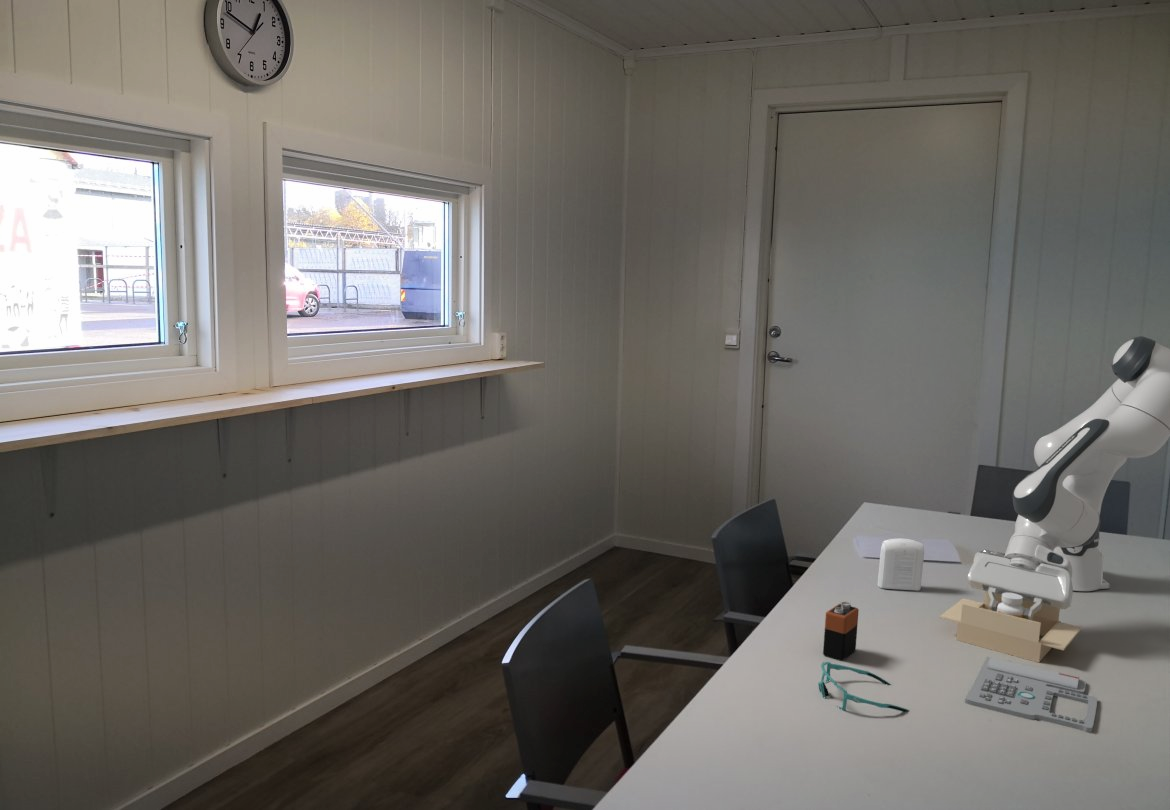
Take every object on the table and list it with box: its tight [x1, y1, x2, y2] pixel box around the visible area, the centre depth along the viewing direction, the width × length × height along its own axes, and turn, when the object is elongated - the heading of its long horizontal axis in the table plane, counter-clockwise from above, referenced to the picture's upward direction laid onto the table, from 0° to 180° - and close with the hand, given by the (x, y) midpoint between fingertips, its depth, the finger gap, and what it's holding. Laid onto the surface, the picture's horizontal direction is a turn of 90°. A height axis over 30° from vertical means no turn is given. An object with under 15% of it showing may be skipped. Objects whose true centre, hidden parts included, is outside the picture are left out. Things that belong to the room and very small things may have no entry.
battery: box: [822, 601, 860, 661], centre depth 182 cm, size 4×7×10 cm, turn 142°
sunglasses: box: [818, 661, 910, 713], centre depth 164 cm, size 14×15×5 cm
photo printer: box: [877, 537, 925, 592], centre depth 222 cm, size 10×4×12 cm, turn 86°
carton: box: [939, 591, 1083, 663], centre depth 191 cm, size 16×24×8 cm, turn 50°
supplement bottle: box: [997, 593, 1025, 619], centre depth 191 cm, size 5×5×10 cm
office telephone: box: [964, 656, 1098, 734], centre depth 167 cm, size 23×3×20 cm
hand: (1009, 613), depth 191 cm, fingers closed on supplement bottle, 5 cm apart
